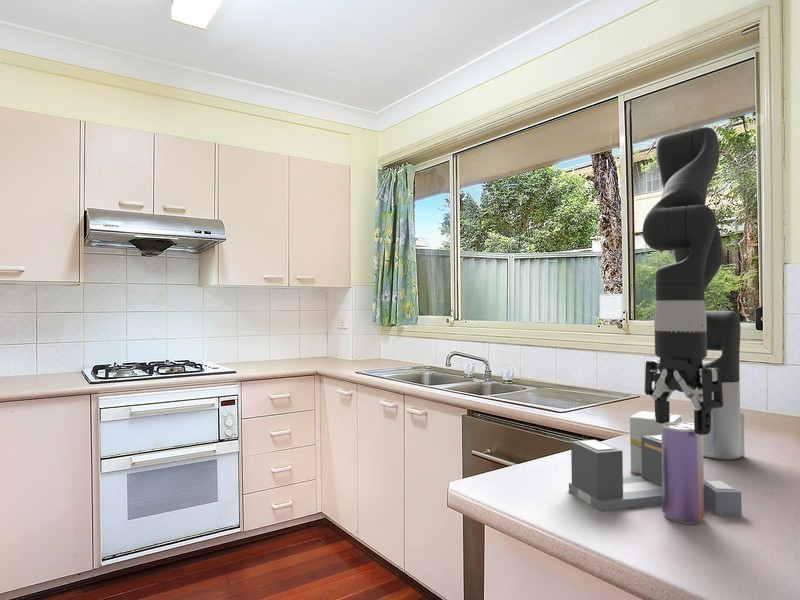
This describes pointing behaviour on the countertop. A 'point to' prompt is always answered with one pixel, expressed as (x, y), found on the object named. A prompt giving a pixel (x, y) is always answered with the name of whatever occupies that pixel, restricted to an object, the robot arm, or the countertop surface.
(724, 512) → the block
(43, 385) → the countertop surface
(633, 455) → the ink box
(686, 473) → the beverage can
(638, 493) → the grey u-shaped block
